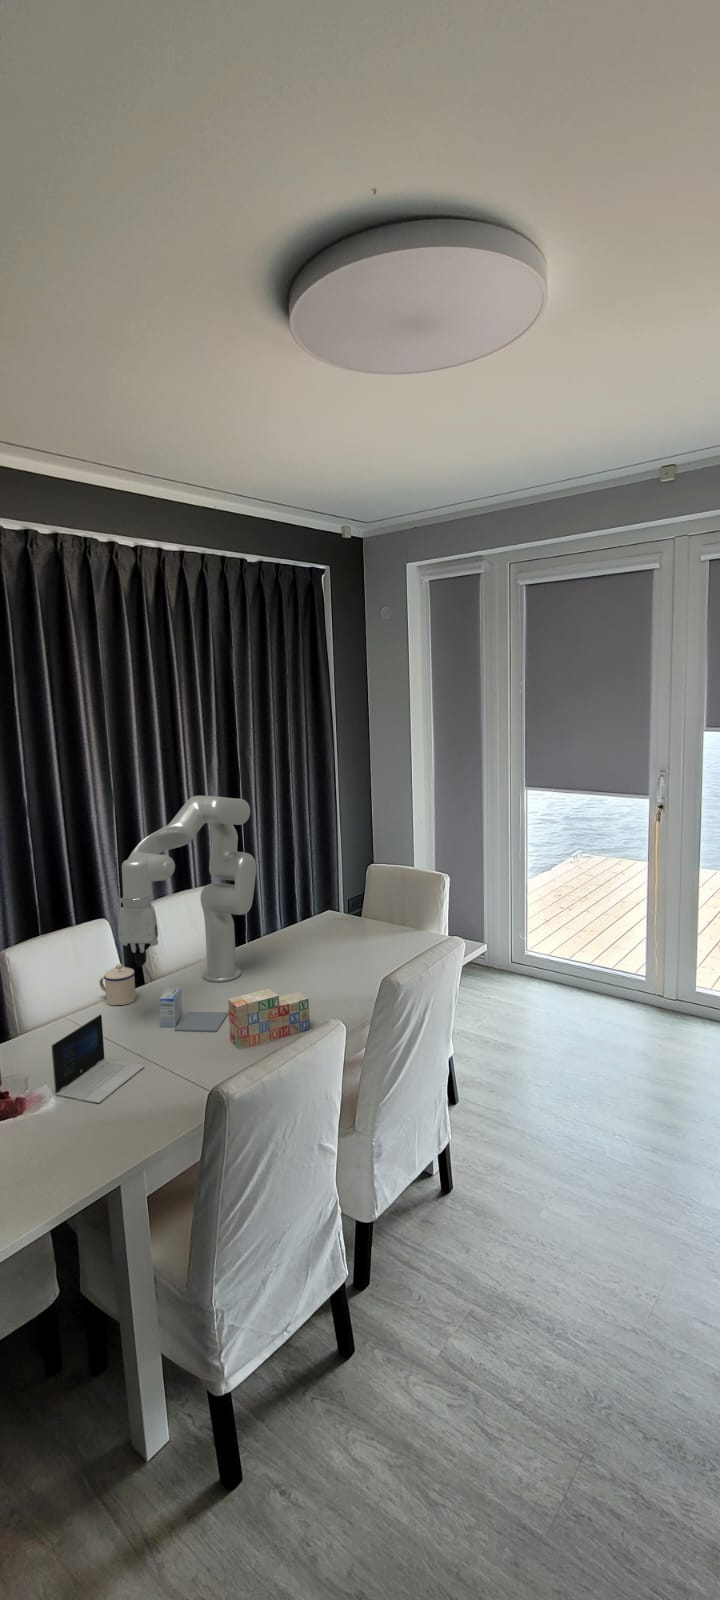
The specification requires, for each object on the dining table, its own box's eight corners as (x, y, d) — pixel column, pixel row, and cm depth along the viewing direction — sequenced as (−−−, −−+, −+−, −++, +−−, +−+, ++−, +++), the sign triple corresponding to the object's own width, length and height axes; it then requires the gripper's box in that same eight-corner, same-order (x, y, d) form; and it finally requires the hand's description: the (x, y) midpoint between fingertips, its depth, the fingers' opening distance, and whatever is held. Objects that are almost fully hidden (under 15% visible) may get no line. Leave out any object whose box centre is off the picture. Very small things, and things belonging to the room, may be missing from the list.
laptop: (99, 1105, 171) (95, 1052, 170) (54, 1097, 175) (50, 1045, 174) (145, 1068, 188) (142, 1019, 186) (103, 1061, 192) (100, 1013, 190)
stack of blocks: (300, 1022, 213) (298, 981, 211) (310, 1030, 208) (308, 988, 206) (229, 1040, 202) (227, 997, 200) (238, 1050, 197) (236, 1005, 195)
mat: (188, 1013, 220) (188, 1011, 220) (228, 1013, 219) (228, 1012, 219) (174, 1031, 208) (174, 1029, 208) (216, 1032, 207) (216, 1030, 207)
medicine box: (167, 1015, 219) (165, 987, 217) (182, 1015, 219) (180, 987, 217) (160, 1027, 211) (158, 998, 210) (176, 1027, 211) (174, 998, 210)
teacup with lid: (142, 996, 233) (140, 961, 231) (124, 1008, 224) (122, 971, 223) (110, 992, 237) (107, 957, 235) (91, 1003, 228) (88, 967, 226)
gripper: (106, 905, 207) (109, 968, 209) (158, 906, 206) (161, 970, 208) (117, 898, 215) (120, 959, 217) (167, 899, 213) (170, 961, 215)
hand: (140, 964), depth 212 cm, fingers closed
